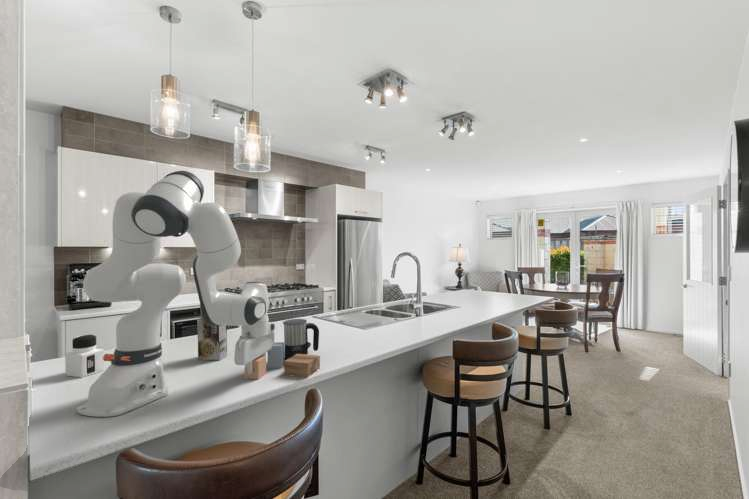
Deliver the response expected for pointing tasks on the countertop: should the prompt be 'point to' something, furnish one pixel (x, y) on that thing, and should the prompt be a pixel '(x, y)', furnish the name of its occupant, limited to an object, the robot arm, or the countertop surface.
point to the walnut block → (301, 365)
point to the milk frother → (298, 337)
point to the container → (84, 357)
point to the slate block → (276, 355)
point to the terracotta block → (257, 368)
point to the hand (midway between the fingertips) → (255, 369)
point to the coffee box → (211, 341)
